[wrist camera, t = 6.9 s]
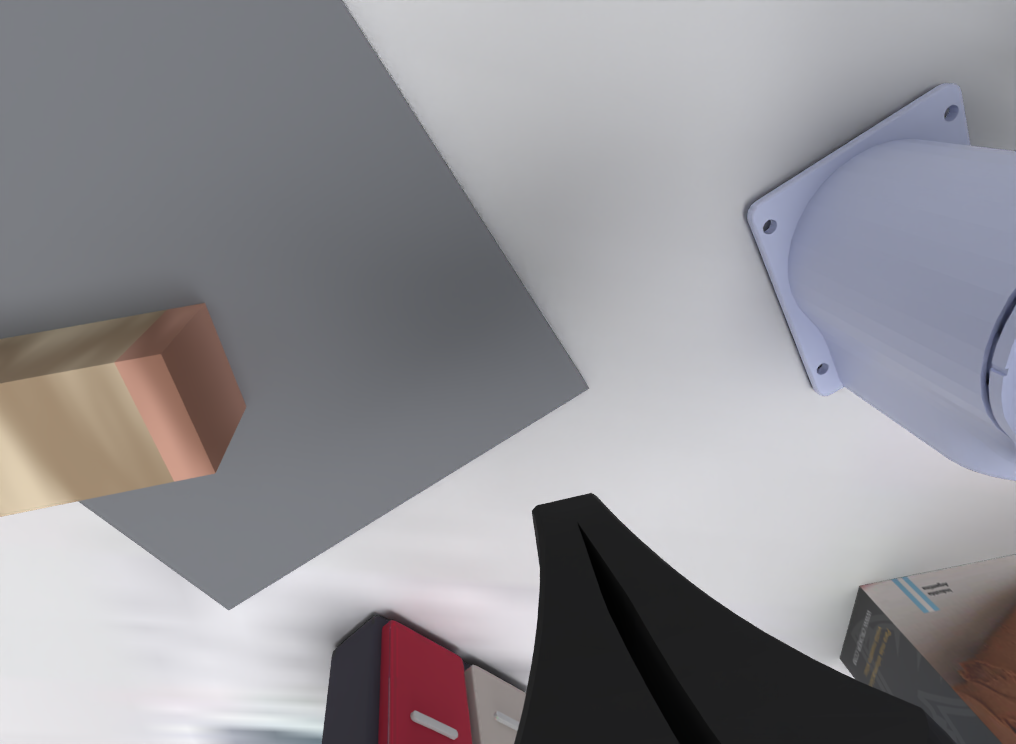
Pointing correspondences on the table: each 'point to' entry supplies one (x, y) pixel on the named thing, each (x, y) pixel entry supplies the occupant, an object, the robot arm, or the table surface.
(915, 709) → the robot arm
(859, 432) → the table surface
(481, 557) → the table surface
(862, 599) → the cake mix box
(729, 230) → the table surface
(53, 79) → the mat
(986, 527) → the table surface
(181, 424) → the maple block
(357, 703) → the small drawer cabinet
